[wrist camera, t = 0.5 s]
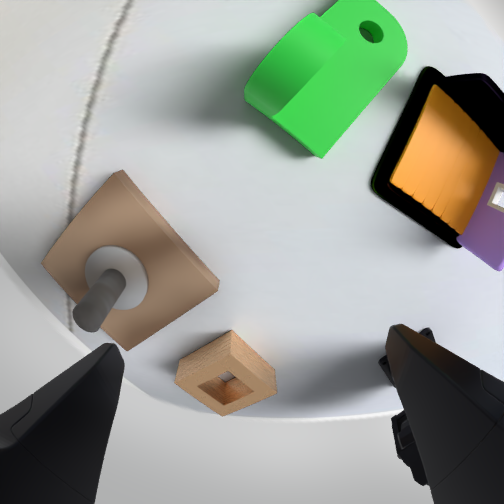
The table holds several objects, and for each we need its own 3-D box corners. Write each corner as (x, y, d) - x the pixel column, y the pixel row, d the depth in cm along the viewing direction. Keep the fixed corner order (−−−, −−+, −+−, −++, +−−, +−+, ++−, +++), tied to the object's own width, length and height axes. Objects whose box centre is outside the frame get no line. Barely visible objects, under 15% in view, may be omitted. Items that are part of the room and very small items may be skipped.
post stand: (219, 280, 22) (210, 341, 16) (131, 341, 25) (107, 396, 18) (122, 169, 18) (70, 191, 12) (49, 255, 21) (3, 296, 14)
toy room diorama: (505, 145, 18) (556, 159, 11) (456, 250, 22) (501, 286, 16) (423, 60, 15) (479, 47, 9) (363, 187, 20) (410, 215, 13)
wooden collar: (274, 369, 26) (277, 393, 23) (223, 393, 28) (222, 416, 25) (231, 329, 24) (230, 353, 21) (179, 359, 25) (174, 382, 23)
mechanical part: (314, 155, 19) (356, 173, 11) (244, 100, 17) (243, 79, 10) (407, 48, 15) (473, 26, 8) (347, -5, 13) (392, -53, 6)
